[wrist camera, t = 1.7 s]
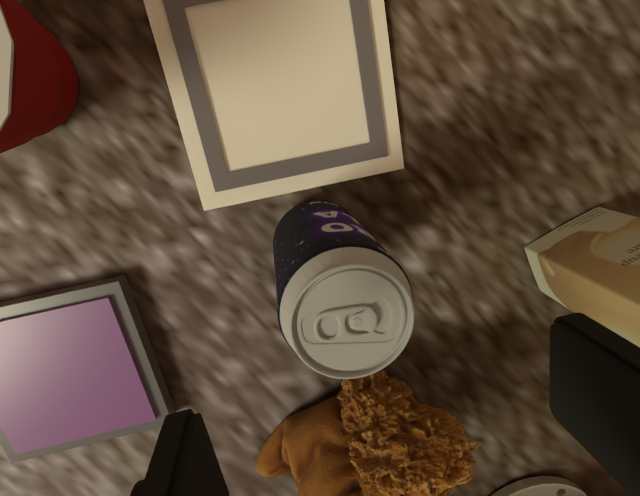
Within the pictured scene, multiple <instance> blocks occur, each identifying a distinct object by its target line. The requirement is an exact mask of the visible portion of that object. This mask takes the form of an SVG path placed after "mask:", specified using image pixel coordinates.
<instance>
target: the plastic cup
mask: <svg viewBox="0 0 640 496" xmlns="http://www.w3.org/2000/svg"><path fill="white" fill-rule="evenodd" d="M78 86H79V80H78V77H77V73H76V70H75V67H74V64H73V61H72V59H71V57H70V55H69V54H68V53H67V51H66V50H65V49H64V48H63V46H62V45H61V44H60V42H59V41H58V40H57V38H56V37H55V36H54V34H52V33H51V32H50V31H49V30H48V29H46V28H45V27H44V26H43V25H41V24H40V23H39V22H38V21H36V19H35V18H34V17H33V15H32V14H31V13H30V12H29V11H28V10H27V9H26V8H25V7H23V6H22V5H21V4H20V3H19V2H18V1H17V0H0V153H2V152H5V151H7V150H10V149H12V148H15V147H17V146H20V145H22V144H25V143H27V142H28V141H30V140H31V139H32V138H34V137H37V136H40V135H43V134H45V133H48V132H50V131H51V130H53V129H54V128H56V127H57V126H59V125H60V124H62V123H63V122H65V121H66V119H68V117H69V116H70V114H71V112H72V110H73V108H74V107H75V105H76V103H77V100H78Z"/></svg>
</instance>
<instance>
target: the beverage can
mask: <svg viewBox="0 0 640 496" xmlns="http://www.w3.org/2000/svg"><path fill="white" fill-rule="evenodd" d="M273 248H274V264H275V281H276V297H277V313H278V322H279V326H280V330H281V332H282V335H283V337H284V339H285V340H286V342H287V343H288V345H289V346H290V347H291V349H292V350H293V351H294V352H295V353H296V354H297V355H298V356H299V357H300V359H301V360H302V361H303V362H304V363H305V364H306V365H307V366H309V367H310V368H311V369H313V370H314V371H316V372H318V373H320V374H322V375H325V376H328V377H332V378H337V379H355V378H360V377H365V376H368V375H371V374H374V373H376V372H378V371H380V370H381V369H383V368H385V367H386V366H388V365H389V364H390V363H392V362H393V361H394V360H395V359H396V358H397V357H398V356H399V355H400V353H401V352H402V351H403V350H404V348H405V346H406V345H407V343H408V341H409V339H410V336H411V334H412V330H413V326H414V306H413V295H412V289H411V285H410V282H409V279H408V277H407V275H406V273H405V272H404V270H403V269H402V267H401V266H400V265H399V264H398V263H397V262H396V261H395V260H394V259H393V258H392V257H391V255H390V254H389V253H388V252H387V251H386V250H385V249H384V248H383V247H382V246H381V245H380V244H379V243H378V242H377V241H376V240H375V239H374V238H373V237H372V236H371V235H370V234H369V233H368V232H367V231H366V230H365V229H364V228H363V227H362V226H361V225H360V224H359V223H358V222H357V220H356V219H355V218H354V217H353V216H352V215H351V214H350V213H349V212H348V211H347V210H345V209H344V208H343V207H341V206H339V205H337V204H335V203H333V202H329V201H324V200H313V201H307V202H304V203H301V204H299V205H297V206H295V207H294V208H292V209H291V210H289V211H288V212H287V213H286V214H285V215H284V216H283V218H282V219H281V220H280V222H279V224H278V226H277V228H276V231H275V234H274V240H273Z"/></svg>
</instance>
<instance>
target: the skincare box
mask: <svg viewBox="0 0 640 496" xmlns="http://www.w3.org/2000/svg"><path fill="white" fill-rule="evenodd" d="M524 249H525V252H526V254H527V257H528V260H529V263H530V266H531V269H532V271H533V274H534V277H535V279H536V282H537V284H538V287H539V289H540V291H542V292H543V293H545V294H546V295H548V296H549V297H551V298H552V299H554V300H556V301H557V302H559V303H560V304H562V305H563V306H565V307H566V308H568V309H569V310H571V311H573V312H574V313H577V312H578V313H583V314H585V315H586V316H588V317H590V318H591V319H593V320H595V321H596V322H598V323H600V324H601V325H603V326H605V327H606V328H608V329H610V330H611V331H613V332H615V333H617V334H618V335H620V336H622V337H623V338H625V339H627V340H628V341H630V342H632V343H633V344H635V345H637V346H638V347H640V218H639V217H635V216H632V215H628V214H624V213H620V212H617V211H613V210H609V209H606V208H602V207H596V208H594V209H592V210H590V211H588V212H586V213H584V214H582V215H580V216H578V217H577V218H575V219H573V220H571V221H569V222H567V223H565V224H564V225H562V226H560V227H558V228H556V229H555V230H553V231H551V232H549V233H548V234H546V235H544V236H542V237H541V238H539V239H537V240H535V241H534V242H532V243H530V244H529V245H527V246H525V248H524Z"/></svg>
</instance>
